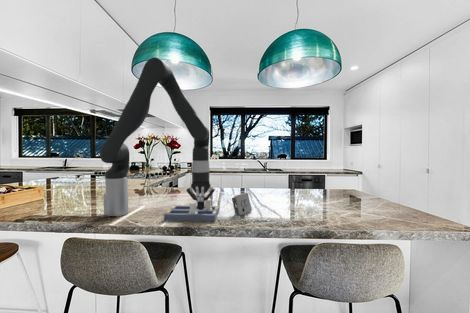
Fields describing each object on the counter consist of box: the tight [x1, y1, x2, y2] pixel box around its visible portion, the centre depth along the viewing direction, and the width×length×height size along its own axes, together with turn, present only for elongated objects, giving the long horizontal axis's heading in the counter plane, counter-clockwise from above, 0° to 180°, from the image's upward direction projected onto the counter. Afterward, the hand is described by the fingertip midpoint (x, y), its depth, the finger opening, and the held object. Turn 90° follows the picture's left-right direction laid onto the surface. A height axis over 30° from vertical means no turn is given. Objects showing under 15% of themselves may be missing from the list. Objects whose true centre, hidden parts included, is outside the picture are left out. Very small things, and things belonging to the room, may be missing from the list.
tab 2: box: [204, 198, 212, 210], centre depth 107 cm, size 3×3×6 cm
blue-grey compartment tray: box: [163, 204, 220, 222], centre depth 105 cm, size 22×14×3 cm, turn 86°
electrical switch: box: [231, 192, 253, 216], centre depth 109 cm, size 9×5×9 cm, turn 141°
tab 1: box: [189, 201, 198, 214], centre depth 101 cm, size 3×3×6 cm
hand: (200, 209), depth 101 cm, fingers closed
